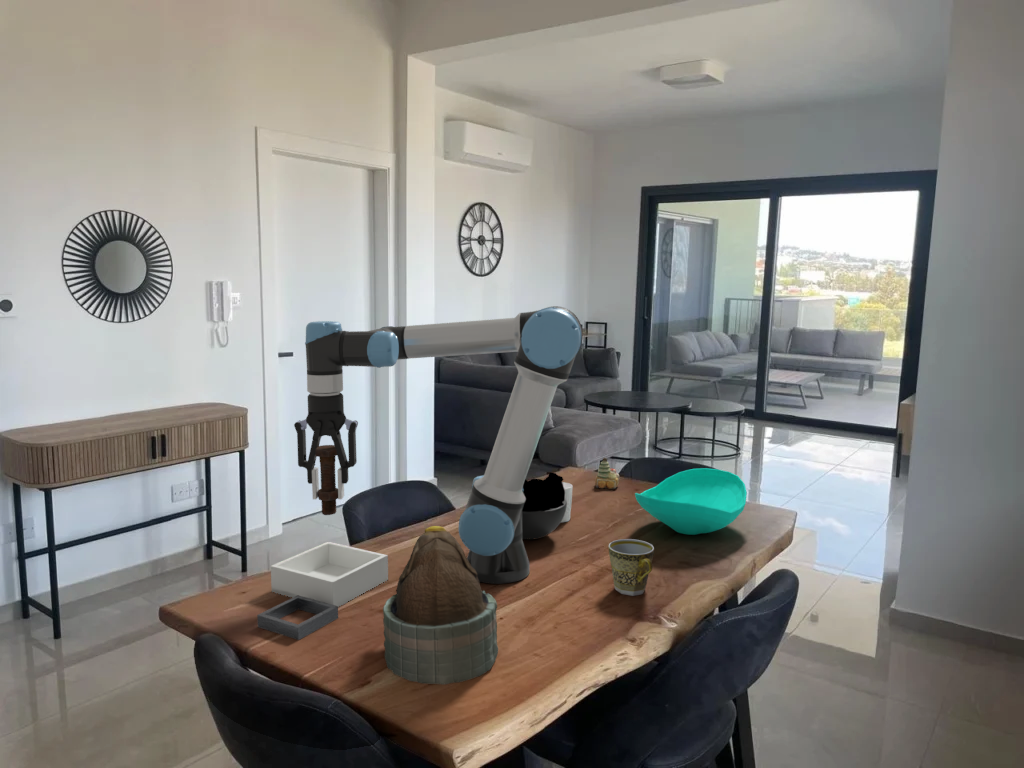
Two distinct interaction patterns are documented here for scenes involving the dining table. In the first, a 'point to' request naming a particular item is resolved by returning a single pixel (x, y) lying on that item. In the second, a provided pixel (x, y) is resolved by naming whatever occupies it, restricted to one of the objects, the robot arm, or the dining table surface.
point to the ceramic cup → (630, 565)
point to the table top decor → (696, 500)
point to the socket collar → (298, 631)
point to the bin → (330, 573)
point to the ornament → (606, 476)
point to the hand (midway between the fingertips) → (328, 497)
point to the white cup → (568, 499)
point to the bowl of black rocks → (542, 506)
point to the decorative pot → (439, 616)
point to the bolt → (327, 478)
